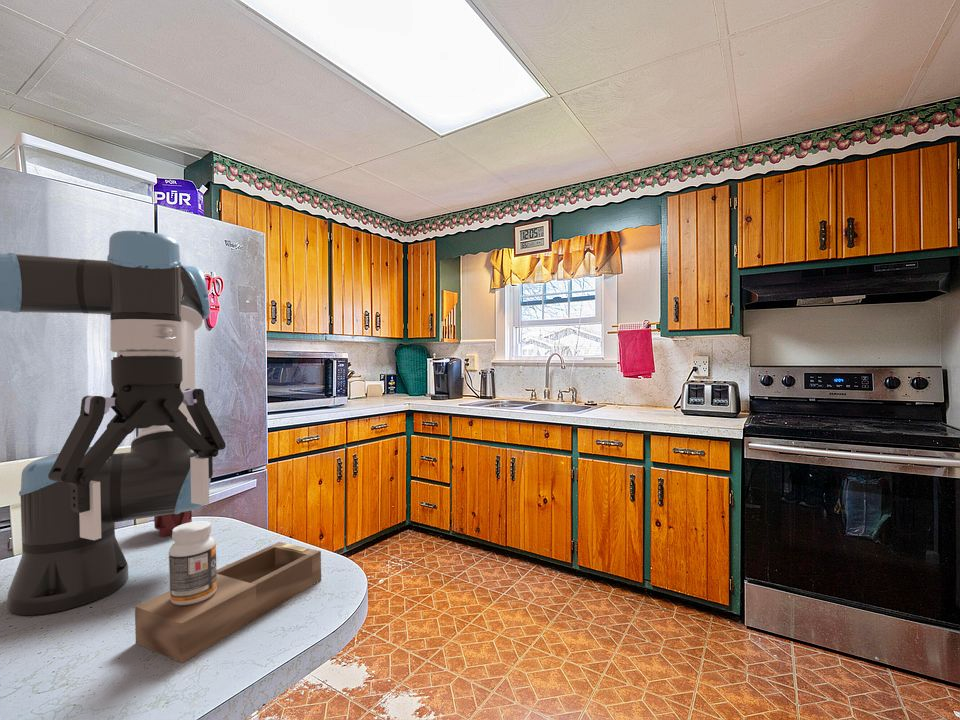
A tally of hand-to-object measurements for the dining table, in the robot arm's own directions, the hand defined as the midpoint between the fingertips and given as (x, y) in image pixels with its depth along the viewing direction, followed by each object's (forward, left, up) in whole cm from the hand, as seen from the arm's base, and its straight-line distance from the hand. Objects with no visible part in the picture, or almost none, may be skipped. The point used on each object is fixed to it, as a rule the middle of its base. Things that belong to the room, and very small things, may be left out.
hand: (151, 519), depth 61 cm
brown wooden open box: (0, +13, -18) cm, 22 cm away
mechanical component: (-43, +29, -18) cm, 55 cm away
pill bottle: (0, +6, -13) cm, 14 cm away
